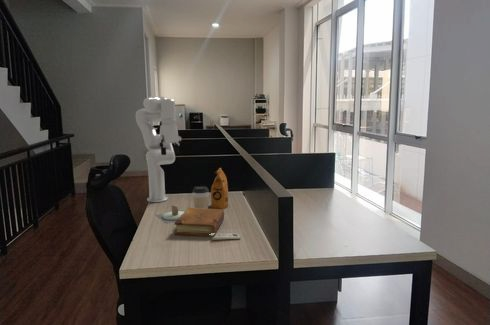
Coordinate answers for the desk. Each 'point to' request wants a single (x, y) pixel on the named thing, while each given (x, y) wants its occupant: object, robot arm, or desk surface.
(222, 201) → the coffee package
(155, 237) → the desk surface
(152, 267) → the desk surface
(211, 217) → the diary
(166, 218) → the lid
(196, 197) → the coffee cup
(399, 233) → the desk surface
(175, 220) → the mat
